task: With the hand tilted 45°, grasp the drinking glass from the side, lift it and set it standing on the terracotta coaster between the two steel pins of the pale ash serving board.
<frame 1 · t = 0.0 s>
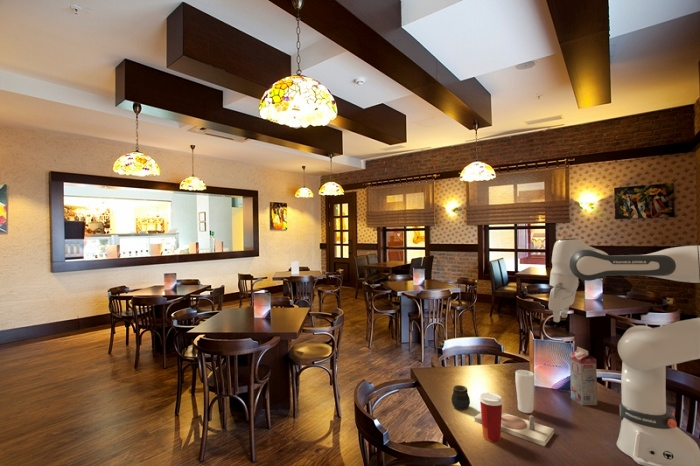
hand: (560, 319, 131), 39 cm above the table, tool pointing down, fingers open, 8 cm apart
juice carton: (583, 401, 149), on the table
pin board: (513, 426, 130), on the table
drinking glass: (525, 411, 142), on the table
mate gourd: (460, 408, 145), on the table
paper cup: (491, 437, 123), on the table
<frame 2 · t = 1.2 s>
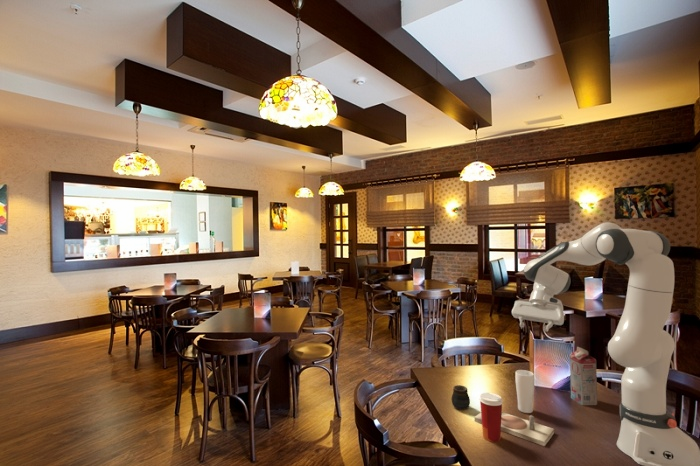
hand: (533, 328, 151), 30 cm above the table, tool tilted 45°, fingers open, 8 cm apart
nothing on the table moved.
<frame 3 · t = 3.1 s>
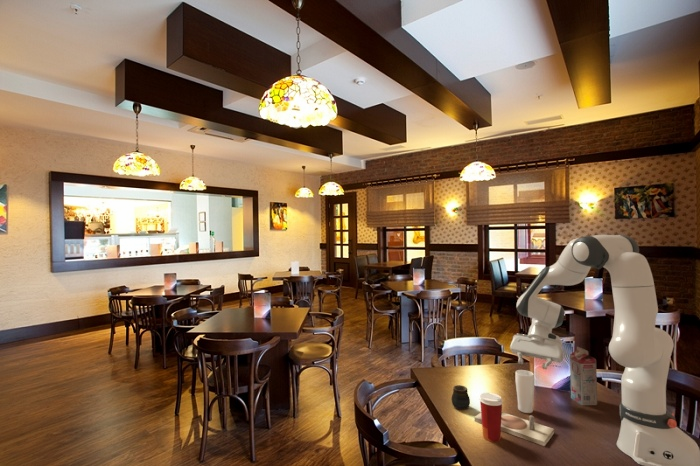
hand: (532, 365, 149), 16 cm above the table, tool tilted 45°, fingers open, 8 cm apart
nothing on the table moved.
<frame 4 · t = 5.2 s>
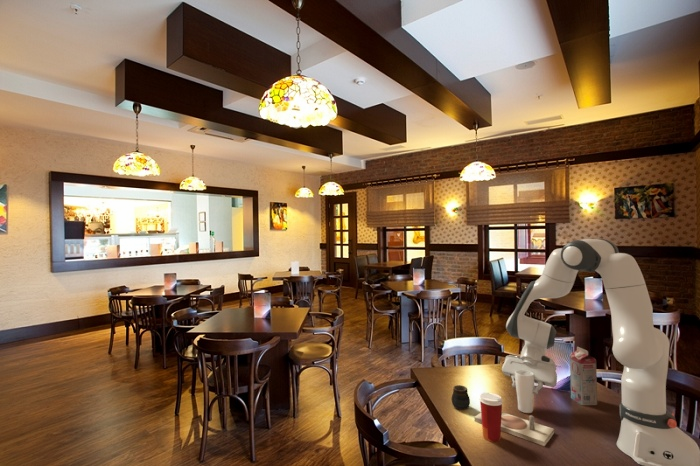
hand: (524, 390, 142), 8 cm above the table, tool tilted 45°, fingers closed on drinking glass, 6 cm apart
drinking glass: (525, 411, 142), on the table, touching gripper
everything else where it was.
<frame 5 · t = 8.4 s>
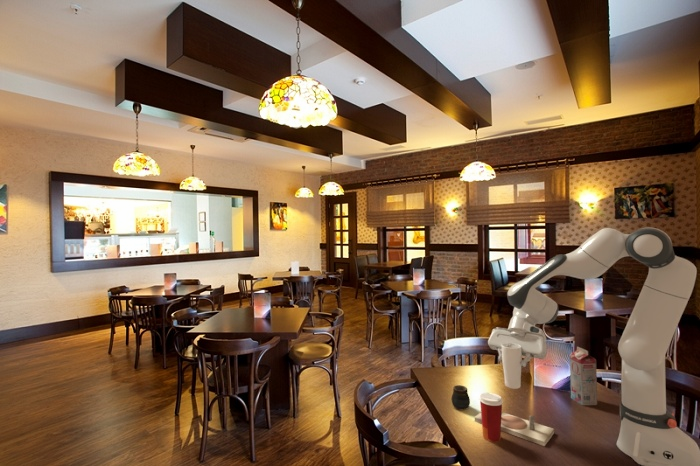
hand: (511, 363, 130), 23 cm above the table, tool tilted 45°, fingers closed on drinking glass, 6 cm apart
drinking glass: (512, 386, 131), point 14 cm above the table, touching gripper
everything else where it was.
when the fingers open (11 cm above the table, at t = 11.4 s): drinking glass stays where it is, resting on pin board.
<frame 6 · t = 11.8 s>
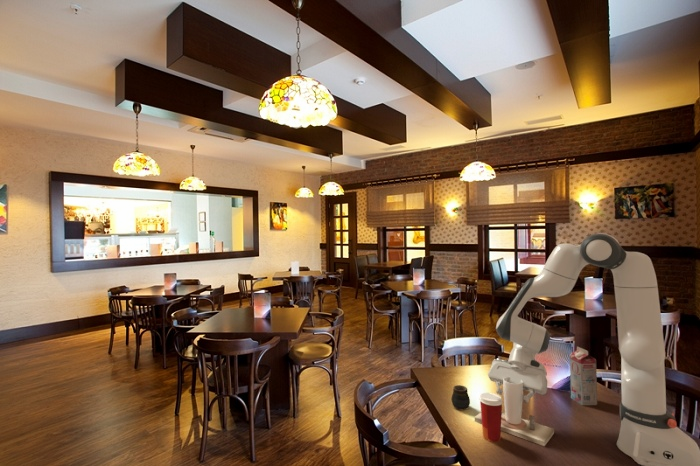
hand: (511, 397, 130), 11 cm above the table, tool tilted 45°, fingers open, 8 cm apart
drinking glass: (513, 422, 130), point 2 cm above the table, touching pin board
everything else where it was.
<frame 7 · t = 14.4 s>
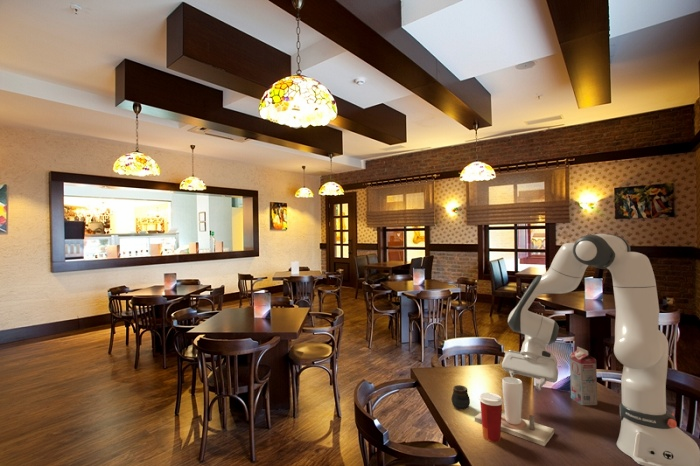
hand: (524, 385, 139), 11 cm above the table, tool tilted 45°, fingers open, 8 cm apart
nothing on the table moved.
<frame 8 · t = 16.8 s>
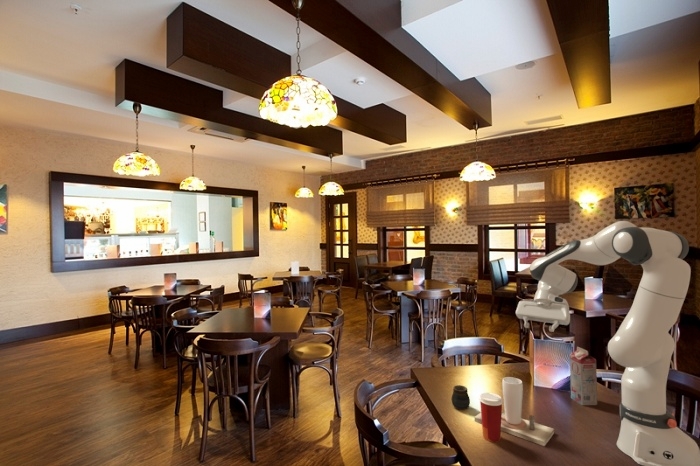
hand: (538, 328, 146), 31 cm above the table, tool tilted 45°, fingers open, 8 cm apart
nothing on the table moved.
at the end: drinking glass 0.2 cm off-centre on the pin board, point 1.6 cm above the pin board's base; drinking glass tilted 0°; the gripper is holding nothing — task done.
